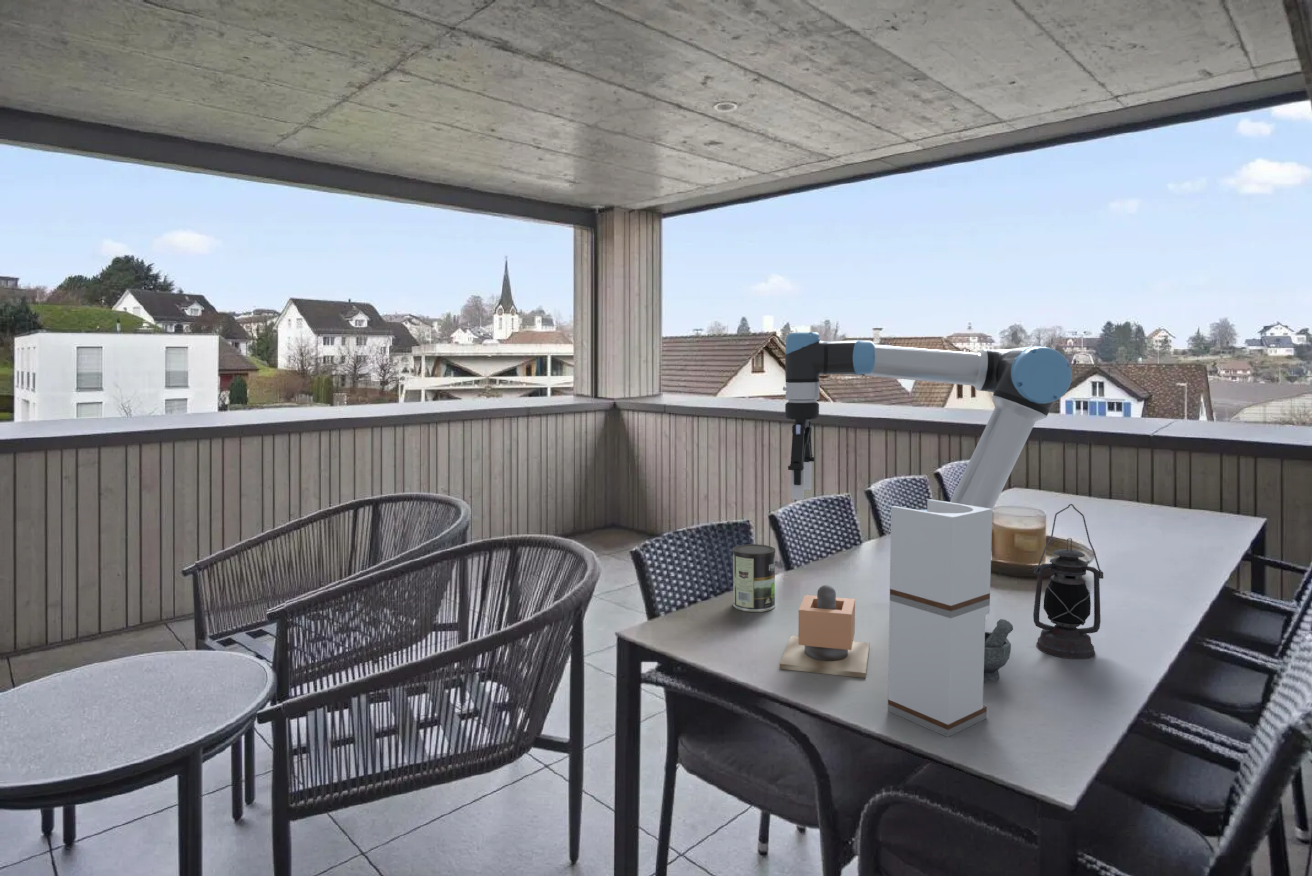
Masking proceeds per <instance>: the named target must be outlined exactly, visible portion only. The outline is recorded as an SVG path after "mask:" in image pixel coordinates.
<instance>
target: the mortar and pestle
mask: <svg viewBox="0 0 1312 876" xmlns="http://www.w3.org/2000/svg"><path fill="white" fill-rule="evenodd" d="M1013 630H1014V626H1013V624H1012V623H1011V622H1010V621H1009V620H1006V619H1003V618H1000V619H999V620H997V622H996V626H995V627H994V628H993V630H992V631H990V632H988V631H985V646H984V681H983V683H987V682H996V681H997V680H999V679H1000V674H999V673H1000V672H999V670H1000V669H1001V668H1002V667H1004V666H1005V665H1006V664H1007V662H1008V661H1009V660H1010V655H1011V651H1012V644H1011V643H1012V642H1010V640H1009V639H1008V635H1009V634H1010V633H1011V632H1013Z"/></svg>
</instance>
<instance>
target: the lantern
mask: <svg viewBox="0 0 1312 876" xmlns="http://www.w3.org/2000/svg"><path fill="white" fill-rule="evenodd" d="M1071 506H1072V508H1073V509H1074V511H1076V512H1077V513H1078V514H1079V515H1081V517H1082V522H1083V525H1084V528H1085V532H1086V535H1087V539H1088V543H1089V546H1090V547H1091V550H1092V552H1093V556H1094V559H1095V563H1096V567H1097V568H1096V567H1094V566H1089V564H1088V562H1086V561H1085V560H1083V559H1080V558H1084V557H1085V556H1086V555H1085V553H1083V552H1081V551H1079V550H1075V549H1073V548H1072V547H1073V539H1072V537H1070V538H1067V540H1066V548H1061V549H1056V550H1053V552H1052V553H1053V555H1056V556H1058V557H1054V558H1050V560H1049V563H1042V561H1043V558H1044V555H1045V553H1046V550H1047V548H1048V546H1049V545H1050V542H1051V541H1052V539H1053V535H1054V531H1055V527H1056V520H1057V515H1059V514H1060V513H1062V512H1063V511H1065V510H1067V509H1069V508H1070V507H1071ZM1052 523H1053V524H1052V530H1051V534H1050V538H1049V540H1048V541H1047V542H1046V545H1045V547H1044V549H1043V552H1042V554H1041V557H1040V559H1039V561H1038V564H1037V565H1034V568H1033V573H1034V574H1036V575H1037V577H1036V588H1035V595H1034V605H1033V616H1032V617H1033V622H1034V625H1035V627H1036V628H1039V629H1042V630H1041V631H1040V636H1038V638H1037V642H1036V643H1035V646H1036V648H1037V650H1038V649H1039V651H1041V652H1042V653H1045V654H1048V655H1050V656H1054V657H1058V658H1064V659H1071V660H1086V659H1090V658H1093V657H1094V656H1095V655H1096V651H1095V645H1093V643H1092V637H1091V636H1090V634H1094V633H1098V631H1099V630H1100V628H1101V596H1100V595H1101V594H1100V593H1101V591H1100V589H1101V588H1100V587H1101V586H1100V579H1101V580H1102V579H1104V572H1103V571H1102V570H1101V569H1100V564H1099V561H1098V558H1097V555H1096V552H1095V549H1094V547H1093V545H1092V542H1091V538H1090V535H1089V531H1088V528H1087V527H1088V526H1087V524H1086V518H1085V515H1084V514H1083V513H1082V512H1081V511H1080V510H1078V509H1077V508H1076V507H1075V505H1074V504H1072V503H1069V504H1068V506H1066V507H1065V508H1062V510H1059V511H1058V512H1056V513H1054V517H1053V522H1052ZM1069 540H1070V548H1069ZM1046 569H1050V571H1051V572H1052V573H1054V574H1053V575H1051V576H1050V581H1049V583H1047V584H1046V588H1045V591H1044V596H1043V610H1044V612H1045V613H1046V616H1047V620H1049V621H1050V623H1052V624H1054V626H1053V625H1050V624H1046V623H1043V622H1041V621H1040V611H1041V600H1042V588H1043V578H1044V577H1043V575H1044V570H1046ZM1087 571H1088V572H1091V573H1092V574H1093V625H1092V626H1090V627H1082V628H1079V627H1080V626H1084V625H1085V624H1086V620H1087V619H1088V618H1089V617H1090V615H1091V607H1092V603H1091V590H1089V589H1088V587H1087V585H1086V582H1087V581H1086V579H1084V578H1083V576H1084V575H1086V574H1087Z"/></svg>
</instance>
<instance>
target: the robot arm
mask: <svg viewBox="0 0 1312 876" xmlns="http://www.w3.org/2000/svg"><path fill="white" fill-rule="evenodd" d="M784 352H785V353H784V360H785V361H784V363H785V365H784V366H785V368H784V369H785V371H784V373H785V375H784V377H785V385H784V386H783V387H782V391H785V400H786V401H787V402H786V403H785V404H784V406H785V407H784V417H785V418H786V419H788V420H795V421H794V422H795V423H794V424H792V427H791V433H792V436H791V437H792V438H791V439H792V440H791V450H790V464H789V465H787V470H788V471H791V472H790V473H791V483H790V485H791V490H790V491H791V493H790V496H791V500H796V501H797V500H798V501H799V500H800V501H803V500H805V490H806V491H807V490H808V491H810V490H812V462H813V463H814V462H815V456H813V447H812V445H813V443H812V430H813V429H812V428H813V427H812V421H811V420H817V419H819V417H820V404H819V402H818V401H817V400H819V399H820V375H826V376H827V375H855V376H856V375H857V376H868V377H876V378H877V377H878V378H889V379H899V380H907V381H908V380H910V381H919V382H921V381H922V382H932V383H940V384H941V383H943V384H952V385H962V386H964V385H965V386H973V387H974V388H975V390H977V391H979V392H980V391H982V392H990V393H993V394H992V396H991V398H992V400H993V404H994V406H995V407H994V409H993V410H992V413H991V415H990V417H989V419H988V420H987V423H986V425H985V428H984V429H983V432H982V434H981V436H980V438H979V440H978V442H977V445H976V446H975V449H974V451H973V453H972V455H971V457H970V459H969V461H968V464H967V465H966V468H965V469H964V472H963V474H962V476H961V477H960V480H959V483H958V485H957V487H956V488H955V490H954V492H953V495H952V497H951V499H950V501H949V502H952V503H958V504H964V505H971V506H977V507H983V508H990V509H992V511H993V510H994V508H995V506H996V504H997V502H998V500H999V497H1000V495H1001V494H1002V492H1003V489H1004V488H1005V485H1006V483H1007V481H1008V479H1009V478H1010V476H1011V473H1012V471H1013V469H1014V466H1015V465H1016V463H1017V461H1018V459H1019V456H1020V454H1021V453H1022V450H1023V449H1024V446H1025V444H1026V442H1027V440H1028V439H1029V436H1030V434H1031V432H1032V430H1033V428H1034V426H1035V424H1036V423H1037V422H1038V421H1040V420H1044V419H1047V417H1048V415H1049V413H1050V411H1051V410H1052V409H1051V408H1052V407H1053V405H1054V402H1056V401H1058V400H1060V398H1062V397H1063V396H1064V395H1065V394H1067V393H1066V392H1067V391H1068V390H1069V389H1070V387H1071V383H1072V378H1073V372H1072V367H1071V365H1070V363H1069V360H1068V359H1067V358H1066V357H1065V355H1064V354H1062V353H1061V352H1060V351H1058V350H1056V349H1054V348H1051V347H1046V346H1043V345H1033V346H1029V347H1016V348H1008V349H981V350H980V351H978V352H967V351H966V352H965V351H956V350H955V351H954V350H943V349H930V348H929V349H928V348H919V347H907V346H895V345H883V344H875V343H874V342H873V341H872V340H863V339H857V340H856V339H855V340H854V339H853V340H829V341H827V340H821V338H820V333H818V332H816V331H815V332H814V331H811V332H809V331H808V332H806V331H802V332H790V333H788V334H787V336H786V338H785V351H784ZM920 510H921V511H927V509H920Z"/></svg>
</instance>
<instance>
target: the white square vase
mask: <svg viewBox="0 0 1312 876" xmlns="http://www.w3.org/2000/svg"><path fill="white" fill-rule="evenodd" d="M926 508H927V509H926V510H927V511H921V510H922V509H915V508H909V507H902V506H897V505H892V506H891V507H890V553H889V554H890V555H889V556H890V560H889V561H890V563H889V565H890V566H889V568H890V569H889V619H888V625H889V626H888V627H889V629H888V630H889V631H888V676H887V677H888V680H887V681H888V683H887V684H888V686H887V687H888V688H887V689H888V691H887V692H888V693H887V712H889V713H892V714H894V715H896V716H898V717H900V718H903V719H906V720H908V721H910V722H913V723H914V724H915V725H916V724H917V725H919V726H922V727H924V728H925V729H928V728H929V729H928V730H930V729H931V731H932V730H933V732H935V733H937V734H939V735H942V736H944V737H947V738H949V737H951V736H953V735H956V734H957V733H959V732H961V731H964V730H965V729H968V728H969V727H972V726H975V724H978V723H980V722H982V721H984V720H986V719H987V714H988V713H987V710H988V707H987V706H986V705H984V682H983V681H984V646H985V632H986V615H990V611H991V610H990V609H991V608H990V607H991V574H992V573H991V572H992V571H991V570H992V569H991V568H992V539H993V535H992V534H993V510H992V509H990V508H983V507H977V506H971V505H964V504H958V503H952V502H950V501H944V500H938V499H932V498H930V499H927V505H926Z"/></svg>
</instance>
